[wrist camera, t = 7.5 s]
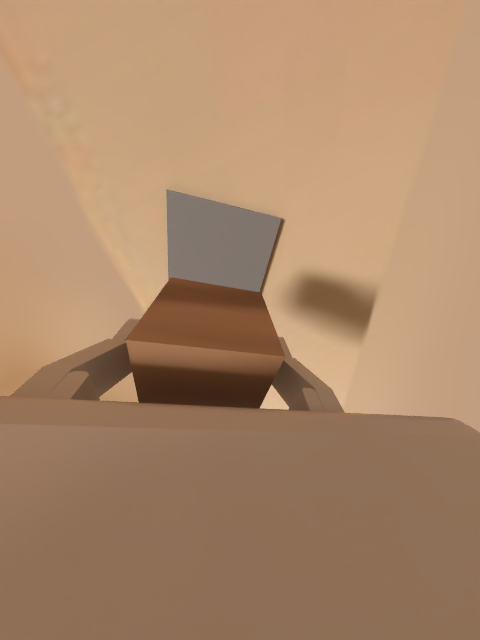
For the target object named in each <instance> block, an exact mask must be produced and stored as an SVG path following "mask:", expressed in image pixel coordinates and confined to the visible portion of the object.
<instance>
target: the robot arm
mask: <svg viewBox="0 0 480 640" xmlns="http://www.w3.org/2000/svg"><path fill="white" fill-rule="evenodd" d="M139 321H140V320H139V319H132V318H131V319H129V320H128V321H127V322H126V323H125V324H124V325H123V327H122V328H121V329H120V330H119V331H118V333H117V334H116V335H115V336H114V337H113V339H107V340H104V341H102V342H100V343H98V344H95V345H93V346H90V347H88V348H86V349H83V350H81V351H79V352H77V353H74V354H72V355H70V356H67V357H65V358H63V359H60V360H58V361H56V362H53V363H51V364H49V365H46V366H44V367H42V368H41V369H40V370H39V371H38V372H37V373H35V374H34V375H33V376H32V377H31V378H30V379H29V380H27V381H26V382H25V383H24V384H23V385H22V386H21V387H20V388H18V389H17V390H16V391H15V392H14V393H13V394H12V395H11V396H0V640H480V433H479V432H478V431H476V430H475V429H473V428H472V427H470V426H468V425H466V424H464V423H463V422H461V421H458V420H456V419H452V418H445V417H444V418H443V417H421V416H401V415H381V414H361V413H345V412H344V410H343V409H342V407H341V405H340V403H339V401H338V400H337V398H336V396H335V394H334V392H333V391H332V389H331V388H330V387H328V386H327V385H326V384H325V383H324V382H322V381H321V380H320V379H319V378H318V377H317V376H315V375H314V374H313V373H312V372H311V371H309V370H308V369H307V368H306V367H305V366H303V365H302V364H301V363H300V362H299V361H297V360H296V359H295V358H292V356H291V354H290V351H289V349H288V347H287V344H286V342H285V340H284V338H283V337H278V338H279V341H280V344H281V346H282V349H283V352H284V354H285V359H284V360H283V362H282V364H281V366H280V368H279V370H278V372H277V374H276V376H275V378H274V380H273V382H272V385H273V386H274V388H275V389H276V390H277V392H278V393H279V394H280V396H281V397H282V398H283V400H284V401H285V402H286V404H287V405H288V406H289V407H290V408H289V409H288V410H280V409H259V408H238V407H218V406H198V405H178V404H158V403H137V402H117V401H100V399H99V397H100V396H101V395H102V394H104V393H105V392H106V391H108V390H109V389H110V388H112V387H113V386H114V385H115V384H117V383H118V382H119V381H121V380H122V379H123V378H125V377H126V376H127V375H128V374H130V373H131V372H132V367H131V363H130V358H129V353H128V348H127V344H126V339H127V337H128V336H129V335H130V333H131V332H132V331H133V329H134V328H135V326H136V325H137V324H138V322H139Z"/></svg>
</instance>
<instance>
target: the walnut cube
mask: <svg viewBox="0 0 480 640" xmlns="http://www.w3.org/2000/svg"><path fill="white" fill-rule="evenodd" d="M126 344H127V348H128V353H129V358H130V363H131V367H132V372H133V377H134V382H135V386H136V391H137V396H138V401H139V403H158V404H178V405H198V406H218V407H238V408H260V406H261V404H262V402H263V400H264V398H265V396H266V394H267V392H268V390H269V388H270V386H271V384H272V382H273V380H274V378H275V376H276V374H277V372H278V370H279V368H280V366H281V364H282V362H283V360H284V359H285V354H284V352H283V349H282V346H281V344H280V341H279V338H278V336H277V333H276V330H275V328H274V325H273V323H272V320H271V317H270V315H269V312H268V309H267V307H266V304H265V301H264V299H263V296H262V293H261V292H255V291H249V290H243V289H237V288H232V287H226V286H220V285H214V284H208V283H202V282H196V281H190V280H184V279H178V278H172V277H171V278H170V279H169V281H168V282H167V284H166V285H165V286H164V288H163V289H162V290H161V292H160V293H159V295H158V296H157V297H156V299H155V300H154V302H153V303H152V304H151V306H150V307H149V308H148V310H147V311H146V313H145V314H144V315H143V317H142V318H141V320H140V321H139V322H138V324H137V325H136V326H135V328H134V329H133V331H132V332H131V333H130V335H129V336H128V337H127V339H126Z"/></svg>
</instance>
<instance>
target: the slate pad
mask: <svg viewBox="0 0 480 640" xmlns="http://www.w3.org/2000/svg"><path fill="white" fill-rule="evenodd" d="M280 222H281V218H278V217H274V216H270V215H266V214H262V213H258V212H254V211H250V210H246V209H242V208H238V207H234V206H230V205H226V204H222V203H218V202H214V201H210V200H207V199H203V198H199V197H195V196H191V195H187V194H183V193H179V192H175V191H171V190H167V233H168V276H169V279H170V278H171V277H172V278H178V279H184V280H190V281H196V282H202V283H208V284H214V285H220V286H226V287H232V288H237V289H243V290H249V291H255V292H260V289H261V285H262V282H263V279H264V275H265V272H266V269H267V265H268V262H269V259H270V255H271V252H272V249H273V245H274V242H275V238H276V235H277V232H278V228H279V225H280Z"/></svg>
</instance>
